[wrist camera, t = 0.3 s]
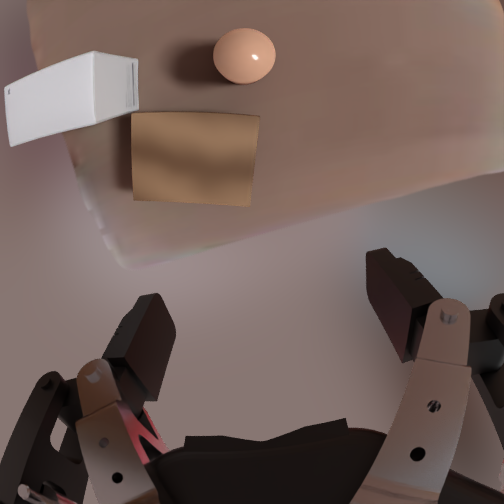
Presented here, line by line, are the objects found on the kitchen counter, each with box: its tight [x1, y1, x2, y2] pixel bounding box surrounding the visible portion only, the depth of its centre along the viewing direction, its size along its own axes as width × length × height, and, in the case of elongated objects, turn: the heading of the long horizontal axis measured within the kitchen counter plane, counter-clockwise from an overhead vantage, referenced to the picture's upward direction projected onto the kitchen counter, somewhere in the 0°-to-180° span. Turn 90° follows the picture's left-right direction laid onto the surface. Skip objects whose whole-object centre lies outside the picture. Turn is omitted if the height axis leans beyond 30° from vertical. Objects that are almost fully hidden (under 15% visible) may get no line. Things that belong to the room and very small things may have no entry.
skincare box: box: [4, 51, 139, 147], centre depth 19 cm, size 10×6×10 cm, turn 89°
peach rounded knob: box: [213, 28, 275, 85], centre depth 21 cm, size 5×5×6 cm
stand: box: [131, 112, 260, 207], centre depth 26 cm, size 9×12×4 cm
